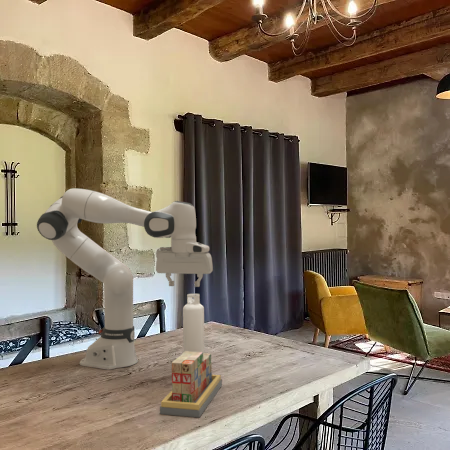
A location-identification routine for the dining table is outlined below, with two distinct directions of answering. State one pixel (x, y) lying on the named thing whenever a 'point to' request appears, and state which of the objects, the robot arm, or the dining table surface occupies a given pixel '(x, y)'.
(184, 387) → the stack of blocks
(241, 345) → the dining table surface
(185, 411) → the yellow and grey tray
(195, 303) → the bottle
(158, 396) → the dining table surface
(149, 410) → the dining table surface
